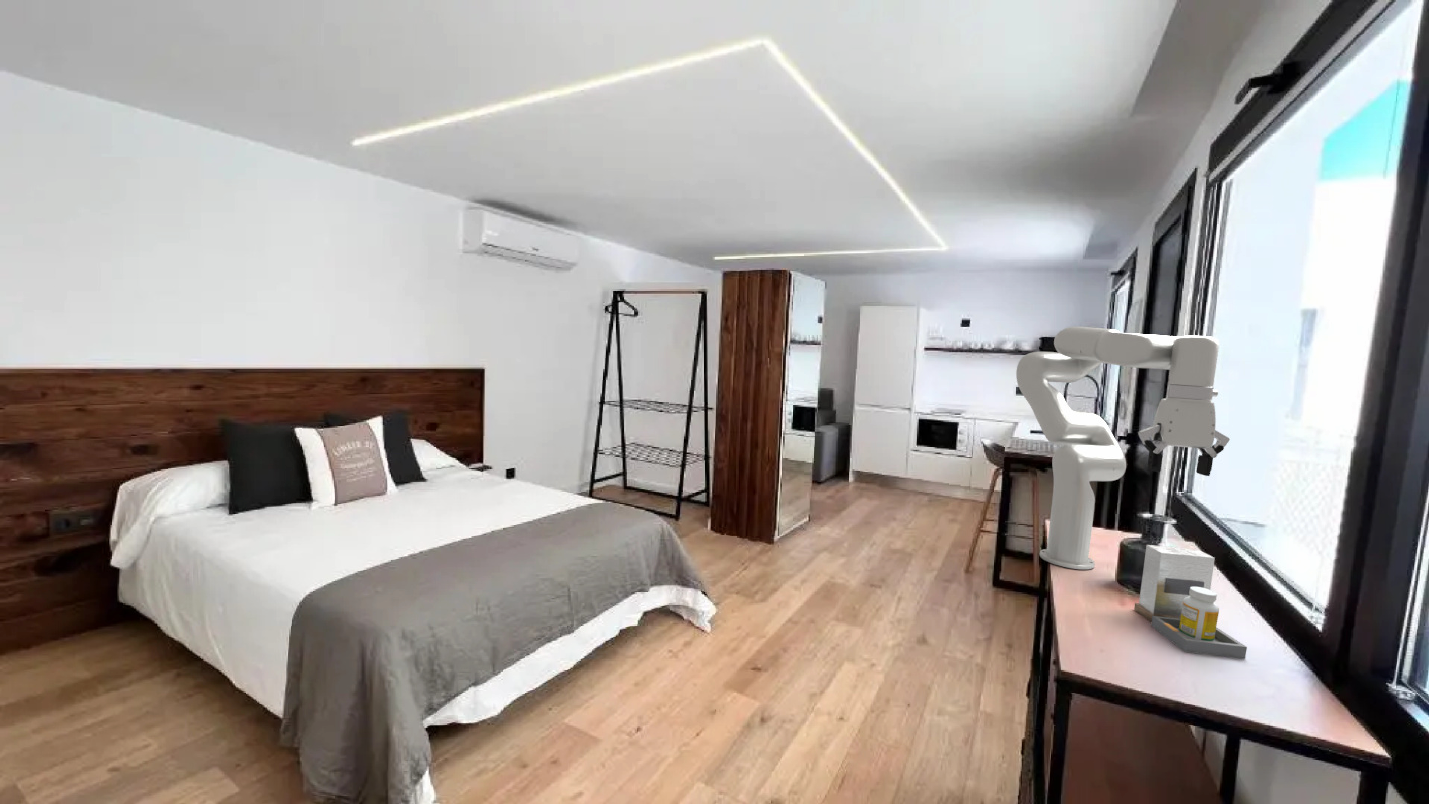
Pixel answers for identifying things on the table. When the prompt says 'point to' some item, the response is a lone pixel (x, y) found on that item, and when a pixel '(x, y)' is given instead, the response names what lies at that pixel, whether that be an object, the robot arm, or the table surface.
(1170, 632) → the tray
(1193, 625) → the supplement bottle
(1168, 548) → the box
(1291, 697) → the table surface
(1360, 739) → the table surface
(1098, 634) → the table surface
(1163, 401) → the robot arm
